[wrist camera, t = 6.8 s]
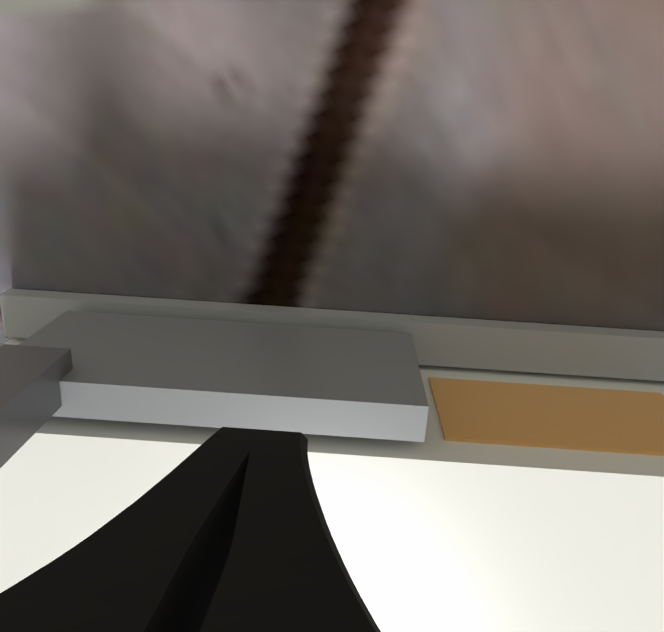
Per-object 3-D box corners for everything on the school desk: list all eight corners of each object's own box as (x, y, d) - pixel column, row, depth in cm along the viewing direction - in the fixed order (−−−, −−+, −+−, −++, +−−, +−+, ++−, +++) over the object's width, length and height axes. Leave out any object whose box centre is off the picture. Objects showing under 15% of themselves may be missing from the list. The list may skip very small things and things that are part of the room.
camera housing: (743, 336, 16) (906, 432, 11) (660, 606, 19) (760, 769, 14) (11, 288, 16) (-129, 361, 12) (46, 561, 19) (-53, 706, 15)
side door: (412, 317, 15) (457, 484, 8) (407, 361, 16) (447, 555, 9) (65, 294, 15) (-164, 441, 9) (69, 338, 16) (-147, 513, 9)
